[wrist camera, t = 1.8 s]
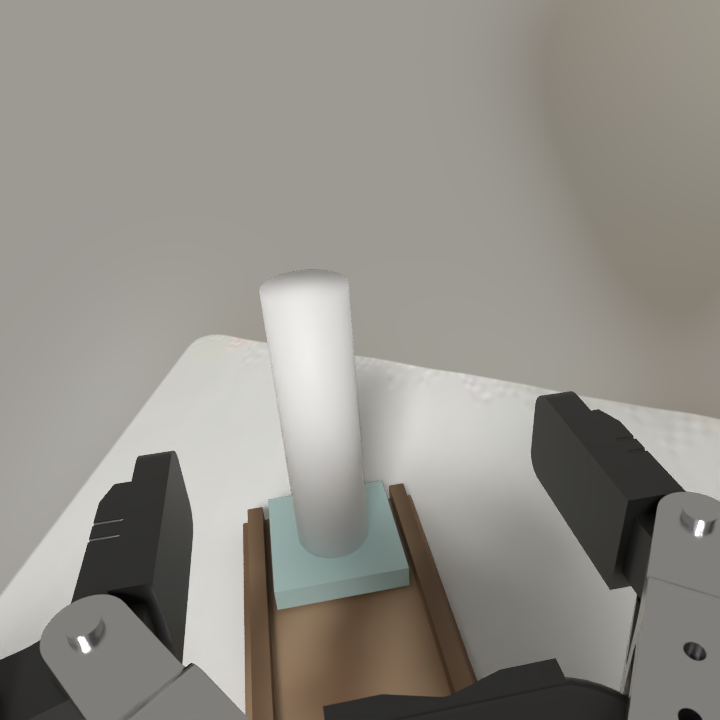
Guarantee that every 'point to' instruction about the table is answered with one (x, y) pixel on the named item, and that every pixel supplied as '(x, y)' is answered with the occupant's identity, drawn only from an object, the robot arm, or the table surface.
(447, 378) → the table surface
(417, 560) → the rail board
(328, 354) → the keeper
